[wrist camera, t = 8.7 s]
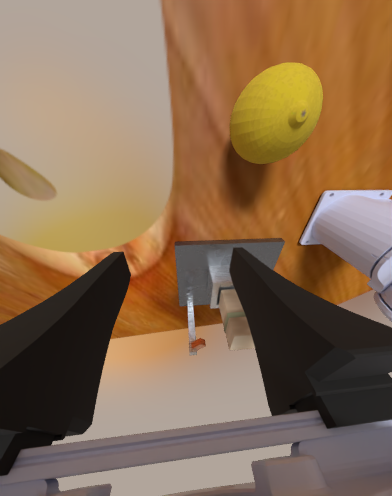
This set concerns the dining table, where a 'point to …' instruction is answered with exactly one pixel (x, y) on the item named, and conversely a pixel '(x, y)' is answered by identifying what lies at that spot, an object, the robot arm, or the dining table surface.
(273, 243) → the stand
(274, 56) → the dining table surface
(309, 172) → the dining table surface
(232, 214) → the dining table surface
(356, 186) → the dining table surface
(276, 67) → the lemon
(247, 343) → the block
